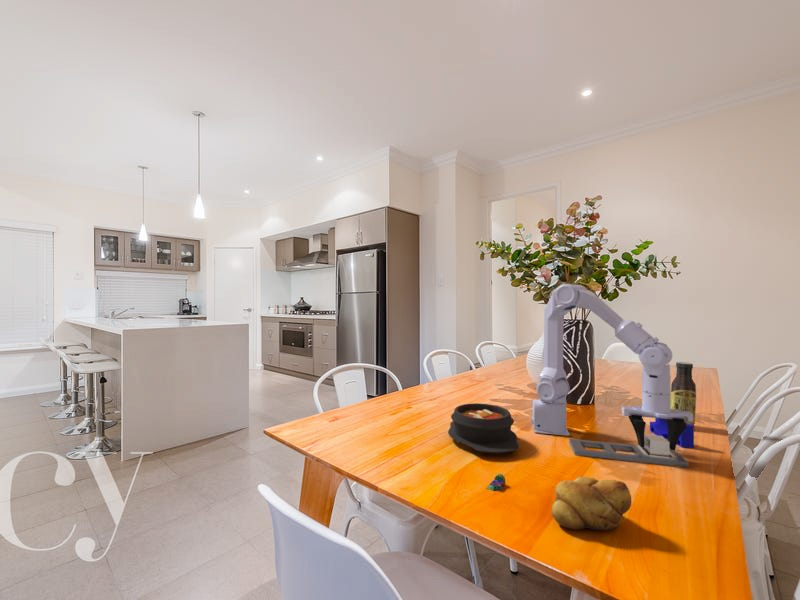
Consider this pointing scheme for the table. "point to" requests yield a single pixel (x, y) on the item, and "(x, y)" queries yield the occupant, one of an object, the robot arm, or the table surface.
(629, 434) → the table surface
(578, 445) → the grey slotted tray
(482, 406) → the casserole
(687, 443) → the cable clip
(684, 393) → the sauce bottle
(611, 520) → the bread roll
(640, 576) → the table surface
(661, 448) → the pale grey upright block
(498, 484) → the green purple lumpy wedge
